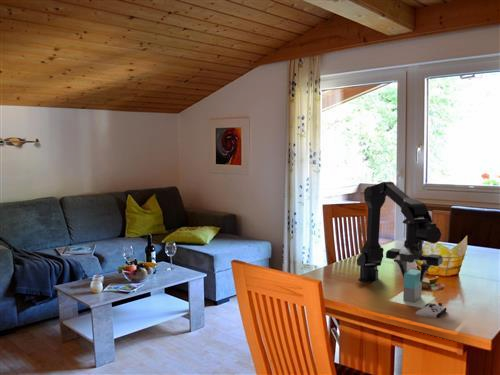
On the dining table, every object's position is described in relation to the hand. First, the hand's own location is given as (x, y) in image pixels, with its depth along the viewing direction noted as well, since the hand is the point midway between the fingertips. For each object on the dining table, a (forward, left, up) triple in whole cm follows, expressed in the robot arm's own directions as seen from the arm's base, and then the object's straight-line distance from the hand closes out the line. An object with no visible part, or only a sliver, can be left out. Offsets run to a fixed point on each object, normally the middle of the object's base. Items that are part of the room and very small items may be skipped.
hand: (412, 280), depth 170 cm
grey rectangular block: (0, 0, -7) cm, 7 cm away
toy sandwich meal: (-1, +18, -8) cm, 20 cm away
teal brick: (0, 0, -2) cm, 2 cm away
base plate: (0, 0, -8) cm, 8 cm away
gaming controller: (+10, -9, -8) cm, 16 cm away
